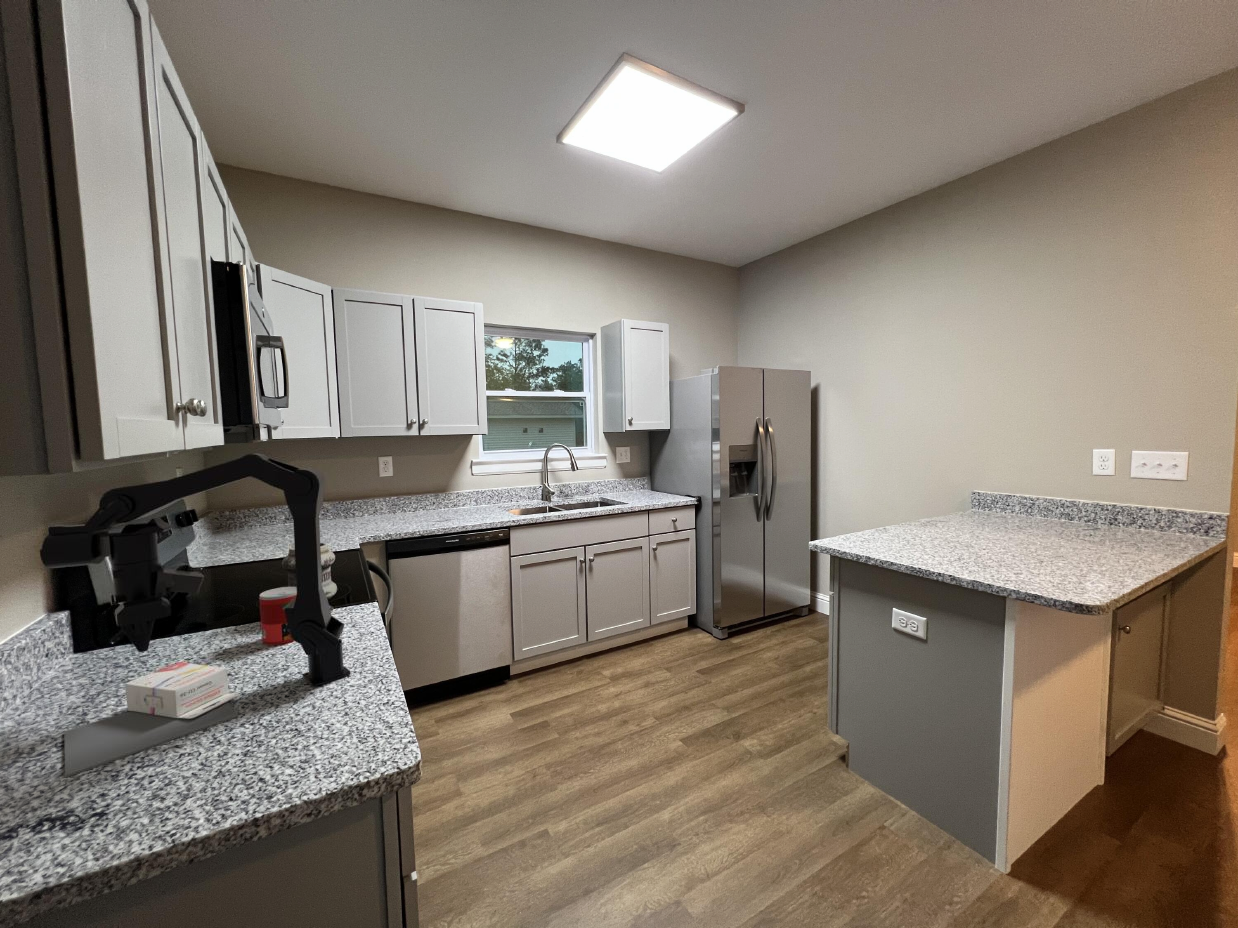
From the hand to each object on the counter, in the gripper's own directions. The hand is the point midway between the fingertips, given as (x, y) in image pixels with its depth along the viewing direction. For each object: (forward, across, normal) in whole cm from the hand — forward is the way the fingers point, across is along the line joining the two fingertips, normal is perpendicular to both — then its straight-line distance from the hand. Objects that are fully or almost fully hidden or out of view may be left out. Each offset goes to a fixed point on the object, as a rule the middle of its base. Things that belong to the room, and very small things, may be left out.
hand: (143, 650), depth 85 cm
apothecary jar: (+10, +30, -34) cm, 46 cm away
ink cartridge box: (+7, +3, -1) cm, 8 cm away
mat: (+10, -8, 0) cm, 13 cm away
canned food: (+10, +16, -24) cm, 31 cm away
